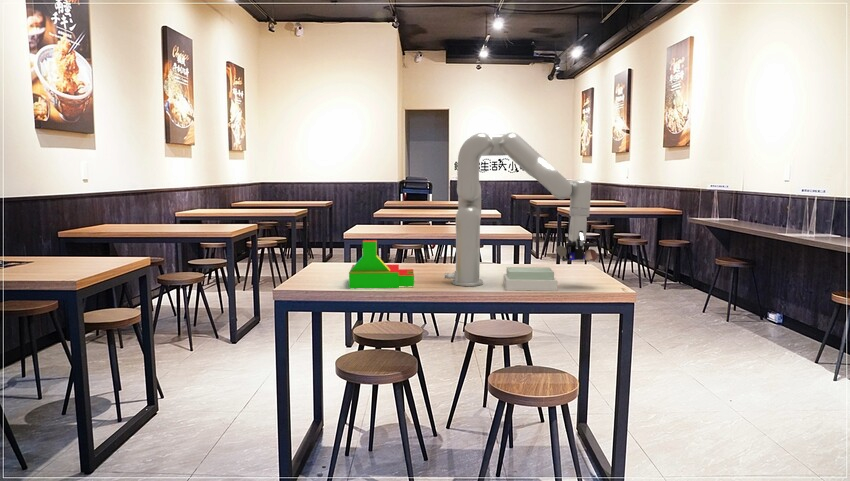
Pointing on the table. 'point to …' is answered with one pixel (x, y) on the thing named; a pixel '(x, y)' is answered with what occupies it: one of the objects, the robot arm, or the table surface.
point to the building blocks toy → (377, 271)
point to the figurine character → (562, 251)
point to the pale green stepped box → (530, 279)
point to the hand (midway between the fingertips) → (576, 257)
